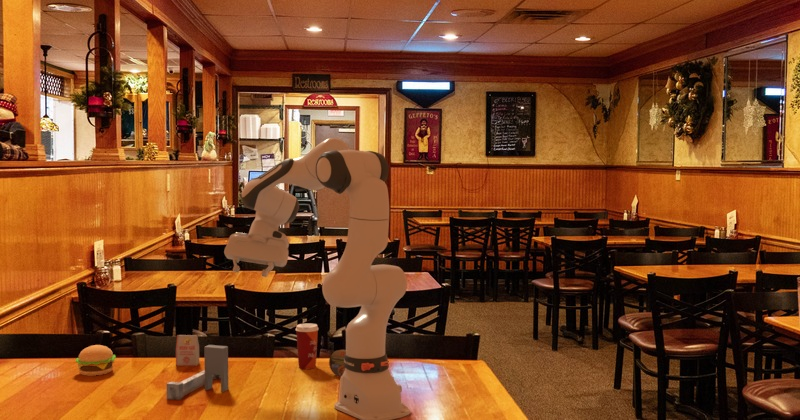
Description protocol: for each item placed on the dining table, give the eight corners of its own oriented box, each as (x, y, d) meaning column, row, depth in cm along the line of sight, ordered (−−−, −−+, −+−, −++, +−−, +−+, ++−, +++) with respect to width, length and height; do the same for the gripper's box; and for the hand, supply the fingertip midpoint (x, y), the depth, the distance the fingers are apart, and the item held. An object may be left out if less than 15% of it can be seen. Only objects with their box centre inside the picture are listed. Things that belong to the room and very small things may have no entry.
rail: (211, 376, 236) (211, 362, 235) (222, 377, 235) (222, 363, 234) (166, 398, 213) (166, 383, 212) (179, 400, 212) (178, 384, 211)
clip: (228, 389, 222) (227, 346, 221) (223, 391, 219) (223, 348, 219) (209, 387, 224) (208, 344, 223) (204, 389, 221) (204, 346, 220)
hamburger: (107, 377, 234) (106, 350, 233) (69, 377, 234) (68, 350, 233) (122, 367, 246) (121, 341, 245) (86, 367, 246) (85, 341, 245)
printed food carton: (179, 363, 251) (179, 333, 250) (199, 363, 251) (198, 334, 250) (175, 366, 247) (175, 336, 247) (196, 366, 247) (195, 336, 246)
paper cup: (317, 370, 243) (317, 328, 242) (293, 370, 243) (293, 327, 242) (320, 363, 250) (320, 322, 250) (297, 363, 251) (297, 322, 250)
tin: (328, 374, 238) (328, 348, 237) (333, 372, 241) (333, 346, 240) (369, 381, 231) (369, 354, 230) (374, 378, 234) (374, 352, 233)
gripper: (229, 226, 239) (215, 264, 232) (290, 235, 236) (278, 273, 229) (234, 236, 244) (221, 273, 237) (293, 245, 241) (282, 283, 234)
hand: (249, 273), depth 233 cm, fingers open, 8 cm apart
